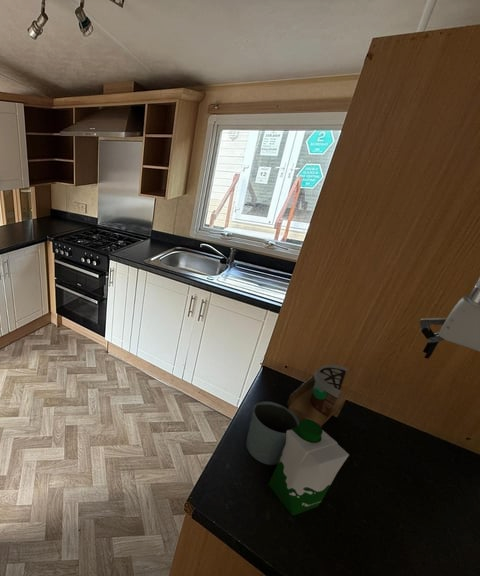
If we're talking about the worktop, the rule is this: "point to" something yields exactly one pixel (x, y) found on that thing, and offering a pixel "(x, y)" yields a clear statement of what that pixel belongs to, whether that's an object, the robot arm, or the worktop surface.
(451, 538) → the worktop surface
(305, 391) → the paper bag
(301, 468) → the milk carton
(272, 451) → the grey cup
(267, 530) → the worktop surface
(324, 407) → the food container
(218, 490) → the worktop surface
